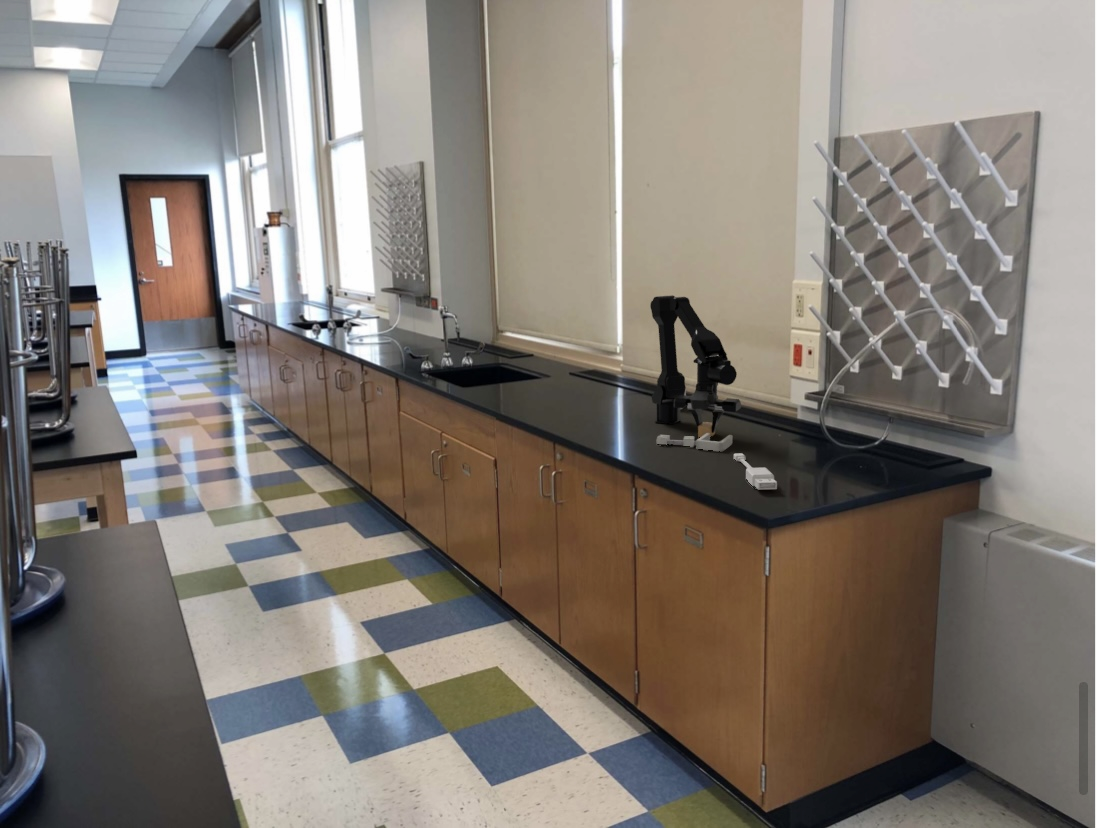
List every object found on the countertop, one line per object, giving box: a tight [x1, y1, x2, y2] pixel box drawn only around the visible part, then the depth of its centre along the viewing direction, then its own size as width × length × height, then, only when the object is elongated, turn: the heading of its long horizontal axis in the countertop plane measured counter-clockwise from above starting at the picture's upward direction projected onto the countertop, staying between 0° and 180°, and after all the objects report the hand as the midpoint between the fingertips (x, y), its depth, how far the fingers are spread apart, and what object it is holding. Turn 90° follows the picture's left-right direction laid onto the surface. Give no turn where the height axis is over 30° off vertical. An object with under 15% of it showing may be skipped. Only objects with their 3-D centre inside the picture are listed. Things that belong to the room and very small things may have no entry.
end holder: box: [695, 433, 733, 453], centre depth 239 cm, size 8×10×2 cm
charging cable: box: [733, 452, 778, 491], centre depth 212 cm, size 5×32×3 cm, turn 0°
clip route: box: [655, 434, 696, 448], centre depth 242 cm, size 12×4×2 cm, turn 62°
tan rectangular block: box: [697, 421, 716, 438], centre depth 252 cm, size 4×6×4 cm, turn 155°
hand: (706, 432), depth 252 cm, fingers closed on tan rectangular block, 4 cm apart
